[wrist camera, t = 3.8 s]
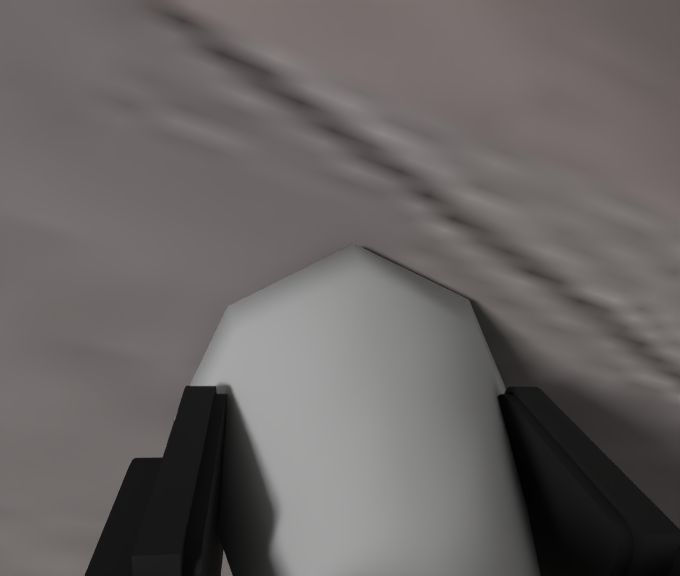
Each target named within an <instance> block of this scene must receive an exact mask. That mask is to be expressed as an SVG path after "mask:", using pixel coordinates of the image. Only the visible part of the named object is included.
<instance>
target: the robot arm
mask: <svg viewBox="0 0 680 576" xmlns="http://www.w3.org/2000/svg"><path fill="white" fill-rule="evenodd" d="M498 400H499V404H500V407H501V411H502V415H503V419H504V422H505V426H506V430H507V434H508V437H509V441H510V445H511V449H512V452H513V456H514V460H515V464H516V467H517V471H518V475H519V479H520V482H521V486H522V490H523V494H524V497H525V501H526V504H527V508H528V513H529V518H530V524H531V529H532V534H533V539H534V544H535V549H536V554H537V560H538V565H539V570H540V575H541V576H680V529H679V528H678V527H677V526H676V525H675V524H674V523H673V522H672V521H671V520H670V519H669V518H668V517H667V516H666V515H665V514H664V513H663V512H662V511H661V510H660V509H659V508H658V507H657V506H656V505H655V504H654V503H653V502H652V501H651V500H650V499H649V498H648V497H647V496H646V495H645V494H644V493H643V492H642V491H641V490H640V489H639V488H638V487H637V486H636V485H635V484H634V483H633V482H632V481H631V480H630V479H629V478H628V477H627V476H626V475H625V474H624V473H623V472H622V471H621V470H620V469H619V468H618V467H617V466H616V465H615V464H614V463H613V462H612V461H611V460H610V459H609V458H608V457H607V456H606V455H605V454H604V453H603V452H602V451H601V450H600V449H599V448H598V447H597V446H596V445H595V444H594V443H593V442H592V441H591V440H590V439H589V438H588V437H587V436H586V435H585V434H584V433H583V432H582V431H581V430H580V429H579V428H578V427H577V426H576V425H575V424H574V423H573V422H572V421H571V420H570V419H569V418H568V417H567V416H566V415H565V414H564V413H563V412H562V411H561V410H560V409H559V408H558V407H557V406H556V405H555V404H554V403H553V402H552V400H551V399H550V398H549V397H548V396H547V395H546V394H545V393H544V392H543V391H542V390H541V389H539V388H538V387H509V388H507V389H506V391H505V393H504V394H500V395H499V396H498ZM226 409H227V394H217V389H216V386H186V387H185V389H184V393H183V396H182V399H181V402H180V405H179V408H178V411H177V414H176V418H175V421H174V424H173V427H172V430H171V433H170V436H169V440H168V443H167V446H166V449H165V452H164V455H163V458H135V459H133V460H132V462H131V464H130V466H129V468H128V470H127V473H126V475H125V478H124V480H123V483H122V485H121V488H120V490H119V492H118V495H117V497H116V500H115V502H114V505H113V507H112V510H111V512H110V515H109V517H108V519H107V522H106V524H105V527H104V529H103V532H102V534H101V537H100V539H99V542H98V544H97V546H96V549H95V551H94V554H93V556H92V559H91V561H90V564H89V566H88V569H87V571H86V573H85V576H221V567H222V558H223V546H222V543H221V540H220V537H219V534H218V528H219V514H220V499H221V484H222V469H223V454H224V439H225V424H226Z"/></svg>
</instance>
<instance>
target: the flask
mask: <svg viewBox="0 0 680 576" xmlns="http://www.w3.org/2000/svg"><path fill="white" fill-rule="evenodd" d="M190 386H216V389H217V394H227V409H226V424H225V439H224V454H223V469H222V484H221V499H220V514H219V528H218V534H219V537H220V540H221V543H222V546H223V549H224V551H225V554H226V557H227V560H228V563H229V566H230V569H231V572H232V575H233V576H541V575H540V570H539V565H538V560H537V554H536V549H535V544H534V539H533V534H532V529H531V524H530V518H529V513H528V508H527V504H526V501H525V497H524V494H523V490H522V486H521V482H520V479H519V475H518V471H517V467H516V464H515V460H514V456H513V452H512V449H511V445H510V441H509V437H508V434H507V430H506V426H505V422H504V419H503V415H502V411H501V407H500V404H499V400H498V396H499V395H500V394H504V393H505V391H506V388H505V385H504V383H503V381H502V378H501V376H500V373H499V371H498V369H497V366H496V364H495V361H494V359H493V357H492V354H491V352H490V349H489V347H488V345H487V342H486V340H485V337H484V335H483V332H482V330H481V328H480V325H479V323H478V320H477V318H476V316H475V313H474V311H473V308H472V306H471V304H470V301H469V299H467V298H465V297H462V296H460V295H458V294H456V293H454V292H452V291H450V290H448V289H446V288H444V287H442V286H440V285H438V284H436V283H434V282H432V281H430V280H428V279H426V278H424V277H421V276H419V275H417V274H415V273H413V272H411V271H409V270H407V269H405V268H403V267H401V266H399V265H397V264H395V263H393V262H391V261H389V260H387V259H385V258H383V257H380V256H378V255H376V254H374V253H372V252H370V251H368V250H366V249H364V248H362V247H360V246H358V245H356V244H354V243H353V244H351V245H349V246H347V247H345V248H343V249H341V250H339V251H337V252H335V253H333V254H331V255H329V256H327V257H325V258H323V259H321V260H319V261H317V262H315V263H313V264H311V265H309V266H307V267H305V268H303V269H301V270H299V271H297V272H295V273H293V274H291V275H289V276H287V277H285V278H283V279H281V280H279V281H277V282H275V283H273V284H271V285H269V286H267V287H265V288H263V289H261V290H259V291H257V292H255V293H253V294H251V295H249V296H247V297H245V298H243V299H241V300H239V301H237V302H235V303H233V304H231V305H229V306H228V307H227V309H226V311H225V313H224V315H223V317H222V319H221V321H220V323H219V326H218V328H217V330H216V332H215V334H214V336H213V338H212V340H211V342H210V344H209V346H208V348H207V350H206V353H205V355H204V357H203V359H202V361H201V363H200V365H199V367H198V369H197V371H196V373H195V375H194V377H193V380H192V382H191V384H190ZM176 414H177V413H176ZM175 418H176V415H175V417H174V421H175Z"/></svg>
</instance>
